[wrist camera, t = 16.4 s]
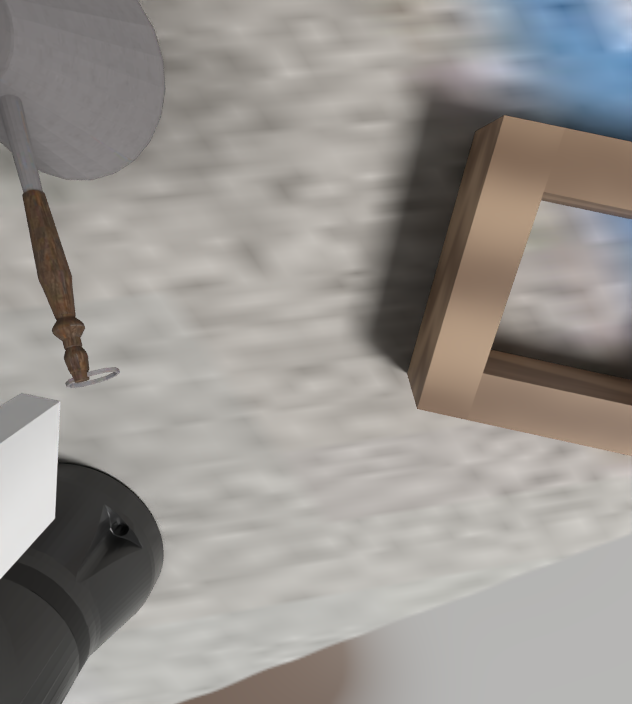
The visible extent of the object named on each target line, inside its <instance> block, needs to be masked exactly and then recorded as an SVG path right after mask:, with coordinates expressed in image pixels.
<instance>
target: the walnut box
mask: <svg viewBox="0 0 632 704" xmlns="http://www.w3.org/2000/svg"><path fill="white" fill-rule="evenodd" d="M541 200H543V201H548V202H552V203H557V204H562V205H566V206H571V207H576V208H581V209H585V210H590V211H595V212H599V213H604V214H609V215H614V216H618V217H623V218H628V219H632V142H630V141H625V140H621V139H616V138H611V137H606V136H601V135H597V134H592V133H587V132H582V131H578V130H573V129H568V128H563V127H558V126H554V125H549V124H544V123H539V122H535V121H530V120H525V119H520V118H516V117H511V116H506V115H504V116H502V117H500V118H499V119H497V120H495V121H493V122H491V123H490V124H488V125H486V126H484V127H483V128H481V129H479V130H477V131H475V135H474V138H473V142H472V145H471V149H470V152H469V156H468V159H467V163H466V167H465V170H464V174H463V177H462V181H461V184H460V188H459V191H458V195H457V198H456V202H455V206H454V209H453V213H452V216H451V220H450V223H449V227H448V230H447V234H446V238H445V241H444V245H443V248H442V252H441V255H440V259H439V262H438V266H437V269H436V273H435V277H434V280H433V284H432V287H431V291H430V294H429V298H428V301H427V305H426V308H425V312H424V316H423V319H422V323H421V326H420V330H419V333H418V337H417V340H416V344H415V347H414V351H413V355H412V358H411V362H410V365H409V369H408V372H407V375H408V378H409V382H410V385H411V389H412V392H413V396H414V399H415V403H416V406H417V409H420V410H425V411H429V412H434V413H438V414H443V415H448V416H452V417H457V418H461V419H466V420H470V421H475V422H479V423H484V424H489V425H493V426H498V427H502V428H507V429H511V430H516V431H520V432H525V433H530V434H534V435H539V436H543V437H548V438H552V439H557V440H562V441H566V442H571V443H575V444H580V445H584V446H589V447H593V448H598V449H603V450H607V451H612V452H616V453H621V454H625V455H630V456H632V380H629V379H624V378H620V377H615V376H610V375H606V374H601V373H597V372H592V371H587V370H583V369H578V368H574V367H569V366H564V365H560V364H555V363H551V362H546V361H541V360H537V359H532V358H528V357H523V356H518V355H514V354H509V353H504V352H500V351H495V350H491V347H492V344H493V341H494V338H495V335H496V332H497V329H498V327H499V324H500V321H501V318H502V315H503V312H504V309H505V306H506V303H507V300H508V297H509V294H510V291H511V288H512V285H513V282H514V279H515V276H516V273H517V270H518V267H519V264H520V261H521V258H522V255H523V252H524V249H525V246H526V243H527V240H528V237H529V234H530V231H531V228H532V225H533V222H534V219H535V216H536V213H537V210H538V208H539V205H540V202H541Z"/></svg>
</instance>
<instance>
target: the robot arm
mask: <svg viewBox="0 0 632 704" xmlns="http://www.w3.org/2000/svg"><path fill="white" fill-rule="evenodd" d="M59 420H60V401H58V400H53V399H48V398H43V397H38V396H33V395H28V394H24V393H21V394H19V395H17V396H16V397H14V398H12V399H11V400H9V401H7V402H6V403H4V404H2V405H1V406H0V704H62V702H63V701H64V699H65V697H66V695H67V694H68V692H69V690H70V688H71V686H72V685H73V683H74V681H75V679H76V677H77V676H78V674H79V672H80V670H81V669H82V667H83V665H84V664H85V662H86V661H87V659H88V657H89V656H90V655H91V654H92V653H93V652H95V651H96V650H97V649H98V648H99V647H100V646H101V645H102V644H103V643H104V642H105V641H106V640H107V639H109V638H110V637H111V636H112V635H113V634H114V633H115V632H116V631H117V630H118V629H119V628H120V627H121V626H123V625H124V624H125V623H126V622H127V621H128V620H129V619H130V618H131V617H132V616H133V615H134V614H136V612H137V611H138V610H139V609H140V608H141V607H142V605H143V604H144V603H145V601H146V600H147V598H148V596H149V595H150V593H151V591H152V589H153V587H154V585H155V583H156V581H157V579H158V577H159V575H160V572H161V569H162V565H163V543H162V538H161V535H160V532H159V529H158V526H157V524H156V522H155V520H154V518H153V517H152V515H151V513H150V512H149V510H148V509H147V508H146V506H145V505H144V504H143V503H142V502H141V500H140V499H139V498H138V497H137V496H136V495H135V494H134V493H132V492H131V491H130V490H129V489H128V488H126V487H125V486H124V485H122V484H121V483H119V482H118V481H116V480H115V479H113V478H111V477H109V476H107V475H105V474H103V473H101V472H98V471H96V470H93V469H90V468H87V467H83V466H79V465H73V464H63V463H58V442H59Z"/></svg>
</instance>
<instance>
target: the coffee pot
mask: <svg viewBox="0 0 632 704" xmlns="http://www.w3.org/2000/svg"><path fill="white" fill-rule="evenodd" d="M164 94H165V78H164V63H163V57H162V54H161V51H160V47H159V44H158V41H157V37H156V34H155V31H154V29H153V27H152V25H151V23H150V21H149V20H148V18H147V16H146V14H145V12H144V11H143V9H142V7H141V5H140V4H139V2H138V0H0V142H1V143H2V144H3V145H4V146H5V147H6V148H8V149H9V150H10V151H11V152H12V155H13V158H14V161H15V165H16V168H17V172H18V175H19V179H20V182H21V186H22V189H23V195H22V196H23V201H24V206H25V211H26V217H27V222H28V227H29V232H30V238H31V243H32V248H33V253H34V259H35V264H36V269H37V274H38V279H39V282H40V284H41V286H42V288H43V290H44V292H45V295H46V297H47V299H48V302H49V304H50V307H51V309H52V311H53V314H54V316H55V318H56V320H57V321H56V323H55V325H54V326H53V328H52V332H53V334H54V335H55V336H56V337H57V338H59V339H60V340H62V341H63V345H64V349H65V350H66V351H65V355H64V360H65V363H66V365H67V367H68V370H69V372H70V374H72V377H73V378H71V379H69V380H68V381H67V382H66V387H70V388H75V387H83V386H87V385H92V384H96V383H99V382H102V381H105V380H108V379H110V378H113V377H115V376H116V375H118V374H119V373H120V371H119V369H118V368H116V367H113V368H103V369H99V370H94V371H90V372H89V371H88V370H89V363H88V355H87V353H86V351H85V350H84V349H83V348H82V347H81V346H82V343H81V339H80V337H81V335H82V333H83V331H84V329H85V326H84V324H83V323H82V322H81V321H80V320H78V319H77V318H75V316H76V315H75V306H74V297H73V288H72V275H71V272H70V269H69V266H68V263H67V260H66V257H65V254H64V251H63V248H62V245H61V242H60V239H59V236H58V233H57V230H56V226H55V223H54V220H53V217H52V214H51V211H50V208H49V205H48V202H47V199H46V196H45V193H44V192H43V191H42V187H41V182H40V178H39V174H38V170H39V171H41V172H43V173H47V174H50V175H53V176H57V177H60V178H63V179H67V180H93V179H97V178H100V177H104V176H107V175H110V174H114V173H116V172H118V171H119V170H121V169H122V168H124V167H125V166H127V165H128V164H130V163H131V162H133V161H134V160H135V159H136V158H137V157H138V155H139V154H140V153H141V152H142V151H143V149H144V148H145V147H146V146H147V145H148V143H149V142H150V141H151V138H152V136H153V134H154V132H155V129H156V127H157V125H158V122H159V120H160V118H161V113H162V107H163V101H164ZM105 372H113V373H111V374H109V375H107V376H104V377H101V378H98V379H95V380H91V381H87V380H89V376H92V375H97V374H101V373H105ZM84 381H86V382H84ZM74 382H75V383H74ZM79 382H82V383H79Z"/></svg>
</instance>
